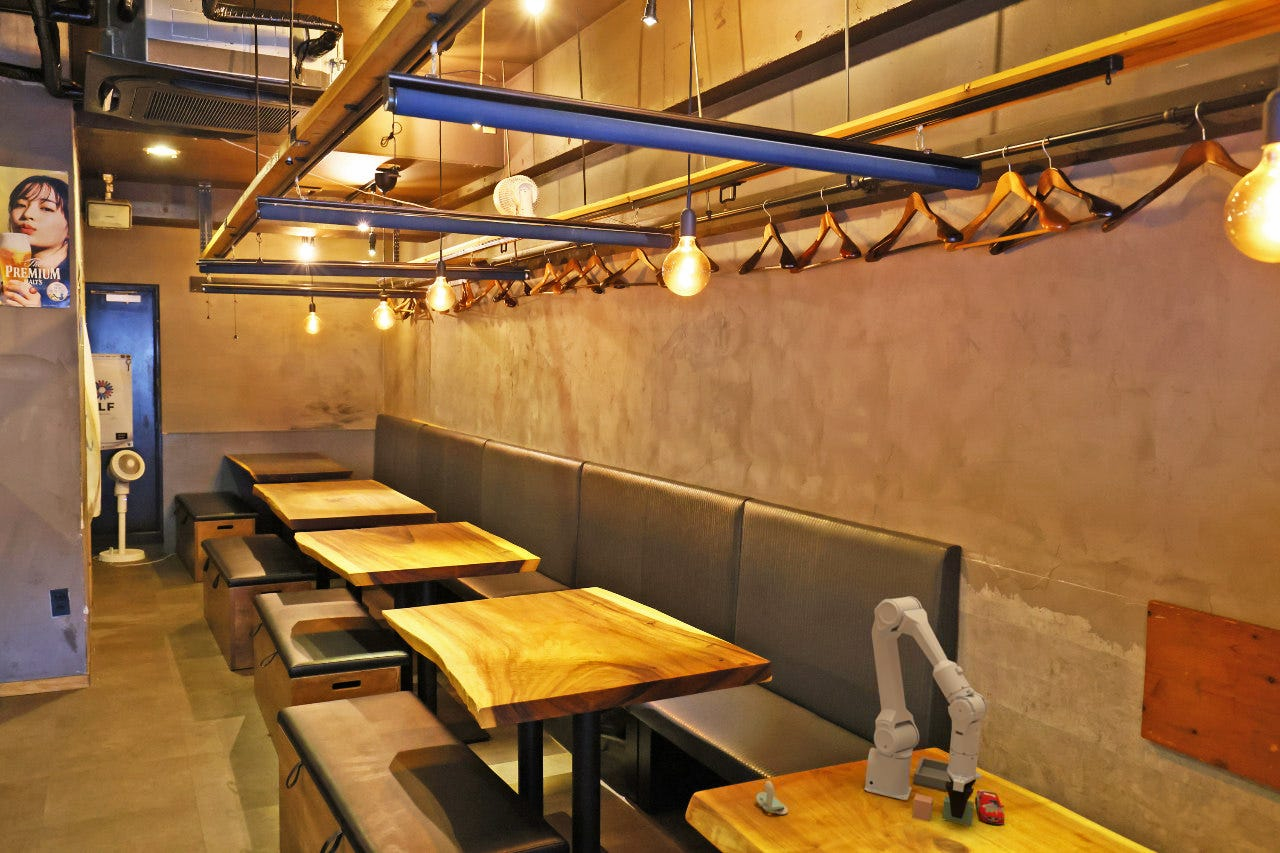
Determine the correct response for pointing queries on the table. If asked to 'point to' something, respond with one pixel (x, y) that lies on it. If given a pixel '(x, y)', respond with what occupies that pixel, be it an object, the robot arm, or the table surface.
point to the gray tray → (931, 774)
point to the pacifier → (770, 800)
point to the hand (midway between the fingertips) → (957, 812)
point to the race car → (989, 807)
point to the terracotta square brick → (922, 807)
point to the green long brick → (967, 814)
